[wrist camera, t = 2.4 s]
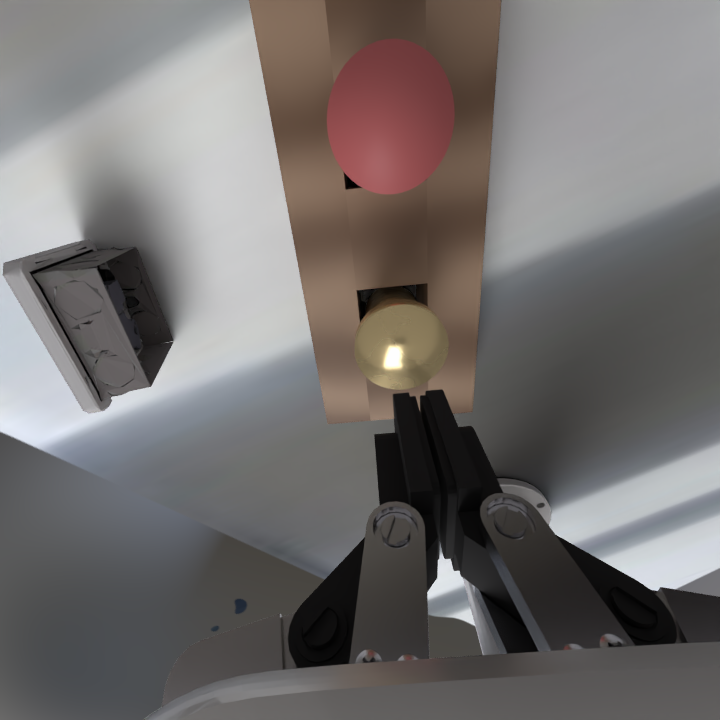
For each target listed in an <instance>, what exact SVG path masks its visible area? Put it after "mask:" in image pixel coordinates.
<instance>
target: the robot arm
mask: <svg viewBox="0 0 720 720" xmlns="http://www.w3.org/2000/svg"><path fill="white" fill-rule="evenodd" d="M393 410H394V425H395V433H386V434H374V436H375V449H376V462H377V475H378V488H379V501H380V506H378V507H377V508H376V509H374V510H373V512H372V513H371V515H370V516H369V518H368V522H367V526H366V534H365V538H364V539H363V540H362V541H361V542H360V543H359V544H358V545H357V546H356V547H355V548H354V549H353V550H352V551H351V553H350V554H349V555H348V556H347V557H346V558H345V559H344V560H343V561H342V562H341V563H340V564H339V565H338V566H337V567H336V568H335V570H334V571H333V572H332V573H331V574H330V575H329V576H328V577H327V578H326V579H325V580H324V581H323V582H322V583H321V584H320V586H319V587H318V588H317V589H316V590H315V591H314V592H313V593H312V594H311V595H310V596H309V597H308V598H307V599H306V600H305V601H304V602H303V603H302V605H301V606H300V607H299V609H298V610H297V612H294V613H292V614H289V615H286V616H283V617H281V614H277V615H274V616H271V617H268V618H265V619H262V620H259V621H256V622H253V623H250V624H247V625H244V626H241V627H239V628H236V629H233V630H230V631H227V632H224V633H221V634H218V635H215V636H212V637H209V638H207V639H204V640H201V641H199V642H197V643H195V644H193V645H192V646H190V647H189V648H188V649H187V650H186V651H185V652H184V653H183V654H182V655H181V656H180V657H179V658H178V659H177V661H176V663H175V664H174V666H173V667H172V669H171V671H170V673H169V676H168V680H167V682H166V686H165V691H164V696H163V702H162V707H161V708H160V709H158V710H156V711H155V712H153V713H152V714H150V715H149V716H148V717H147V718H145V719H144V720H720V597H718V596H712V595H705V594H699V593H693V592H687V591H680V590H675V589H669V588H663V587H660V589H659V590H658V591H654V590H650V589H648V588H647V587H646V586H644V585H643V584H641V583H640V582H638V581H637V580H635V579H633V578H631V577H629V576H628V575H626V574H624V573H622V572H621V571H619V570H617V569H615V568H613V567H612V566H610V565H608V564H606V563H605V562H603V561H601V560H599V559H598V558H596V557H594V556H592V555H590V554H589V553H587V552H585V551H583V550H582V549H580V548H578V547H576V546H574V545H573V544H571V543H569V542H567V541H566V540H564V539H562V538H560V537H559V536H557V535H555V534H554V532H553V531H552V529H551V528H550V527H549V523H550V521H551V509H550V506H549V504H548V502H547V500H546V498H545V497H544V495H543V494H542V493H541V491H540V490H538V489H537V488H536V487H534V486H533V485H530V484H528V483H526V482H523V481H519V480H516V479H506V478H496V475H495V473H494V471H493V469H492V467H491V465H490V462H489V460H488V458H487V456H486V454H485V452H484V450H483V447H482V445H481V443H480V441H479V439H478V437H477V435H476V432H475V430H474V429H473V427H472V426H466V427H458V425H457V423H456V420H455V418H454V416H453V413H452V411H451V408H450V406H449V403H448V401H447V398H446V396H445V393H444V391H443V390H442V389H439V390H428V391H426V392H425V395H420V410H419V407H418V403H417V399H416V396H410V395H409V392H406V393H395V394H393ZM440 543H441V548H442V552H443V556H444V558H445V559H451V561H452V565H453V569H454V571H458V570H460V574H461V576H462V577H463V581H464V584H465V588H466V592H467V596H468V600H469V603H470V607H471V611H472V615H473V619H474V622H475V626H476V630H477V634H478V638H479V641H480V645H481V649H482V653H483V655H479V656H463V657H447V658H432V659H429V632H428V602H427V592H428V590H429V589H430V587H431V586H432V584H433V583H434V582H435V580H436V579H437V566H438V559H439V546H440Z"/></svg>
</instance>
